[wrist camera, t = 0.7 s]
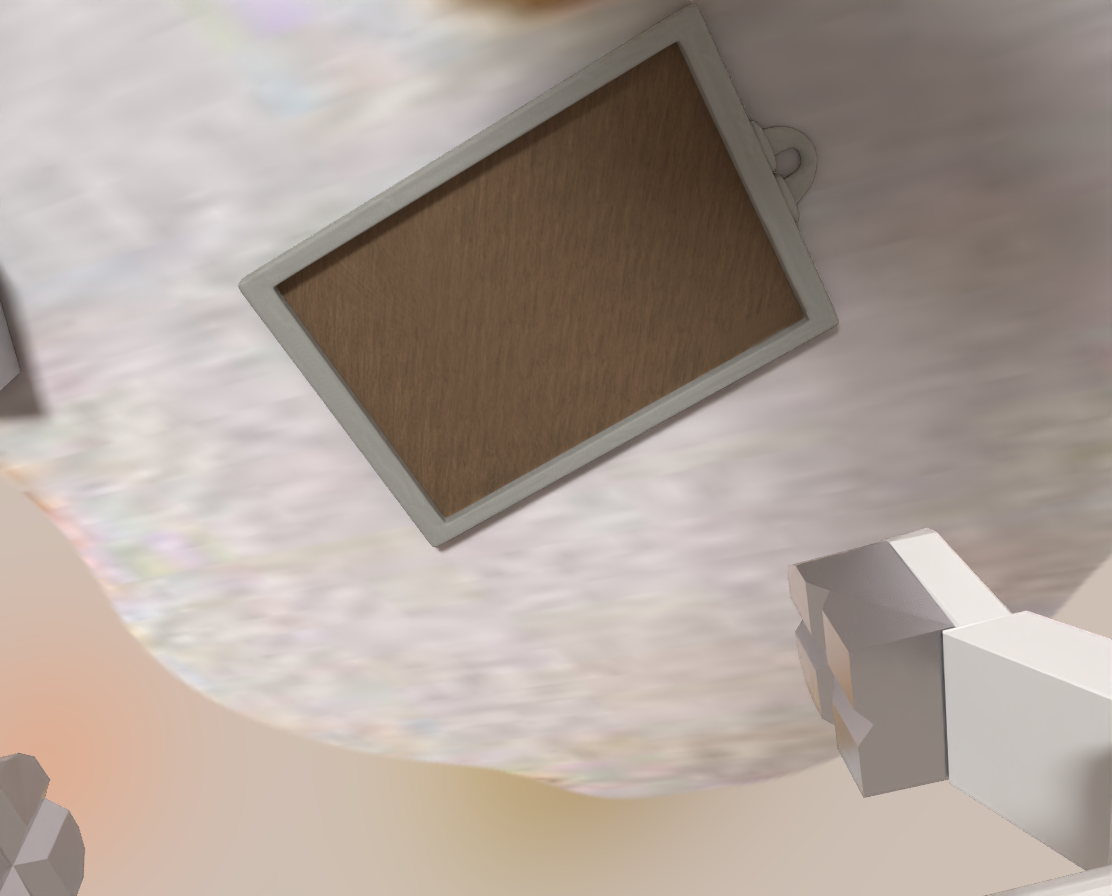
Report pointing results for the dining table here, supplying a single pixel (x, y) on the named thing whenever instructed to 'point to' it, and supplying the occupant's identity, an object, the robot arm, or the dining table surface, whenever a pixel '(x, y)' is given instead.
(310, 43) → the dining table surface
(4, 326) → the cradle
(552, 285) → the grey framed brown tray
